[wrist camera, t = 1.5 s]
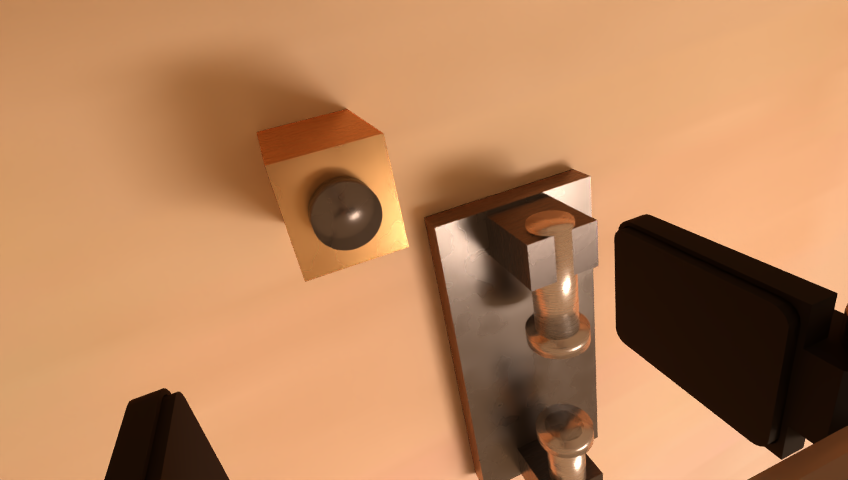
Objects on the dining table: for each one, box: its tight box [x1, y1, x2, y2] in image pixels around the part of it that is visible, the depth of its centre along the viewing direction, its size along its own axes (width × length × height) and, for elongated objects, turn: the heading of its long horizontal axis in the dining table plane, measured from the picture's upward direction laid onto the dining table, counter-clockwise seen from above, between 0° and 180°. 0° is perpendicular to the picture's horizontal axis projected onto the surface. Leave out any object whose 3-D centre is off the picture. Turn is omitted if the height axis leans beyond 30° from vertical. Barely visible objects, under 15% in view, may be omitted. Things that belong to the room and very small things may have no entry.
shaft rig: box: [425, 169, 603, 480], centre depth 28 cm, size 20×9×6 cm, turn 11°
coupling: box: [257, 109, 409, 282], centre depth 19 cm, size 4×4×7 cm
